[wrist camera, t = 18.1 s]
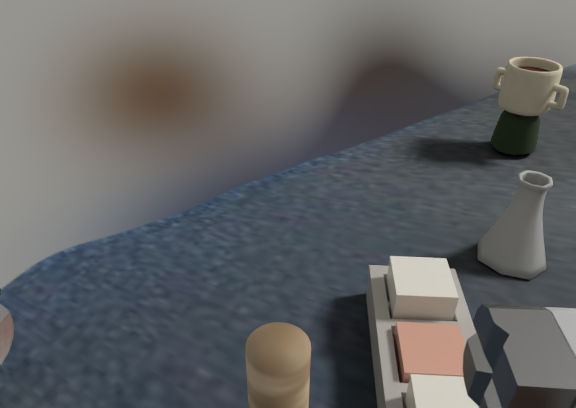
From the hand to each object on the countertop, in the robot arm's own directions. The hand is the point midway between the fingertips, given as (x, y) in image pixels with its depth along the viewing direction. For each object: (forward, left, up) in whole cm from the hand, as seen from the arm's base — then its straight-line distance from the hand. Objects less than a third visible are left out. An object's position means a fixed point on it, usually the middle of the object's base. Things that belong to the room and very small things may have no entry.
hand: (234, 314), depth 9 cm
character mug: (+31, +64, -29) cm, 77 cm away
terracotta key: (+11, +21, -27) cm, 36 cm away
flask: (+23, +38, -29) cm, 53 cm away
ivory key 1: (+11, +27, -25) cm, 39 cm away
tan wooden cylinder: (0, +13, -29) cm, 31 cm away
